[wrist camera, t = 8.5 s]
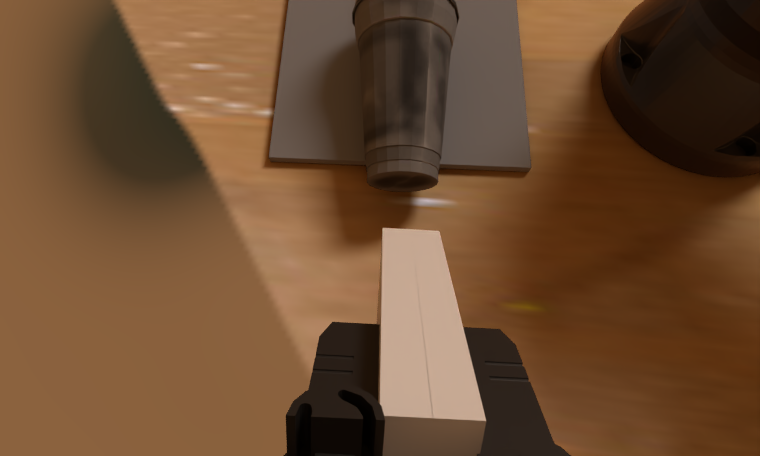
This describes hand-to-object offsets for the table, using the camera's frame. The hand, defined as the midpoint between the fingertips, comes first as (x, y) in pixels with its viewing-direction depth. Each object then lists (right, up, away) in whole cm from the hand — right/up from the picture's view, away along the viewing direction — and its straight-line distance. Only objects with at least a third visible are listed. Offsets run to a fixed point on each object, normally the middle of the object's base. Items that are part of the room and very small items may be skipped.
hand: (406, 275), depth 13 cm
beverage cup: (+1, +4, +18) cm, 18 cm away
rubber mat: (+1, +19, +26) cm, 32 cm away
